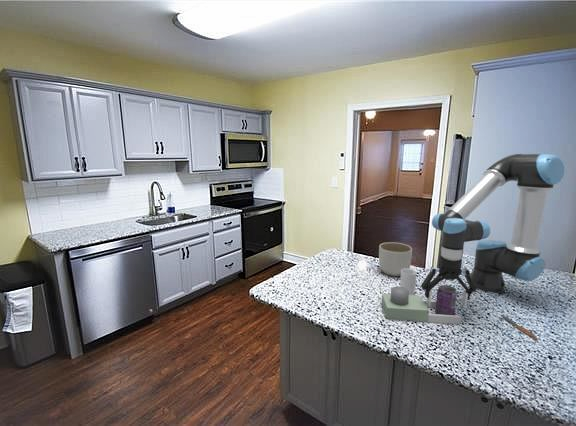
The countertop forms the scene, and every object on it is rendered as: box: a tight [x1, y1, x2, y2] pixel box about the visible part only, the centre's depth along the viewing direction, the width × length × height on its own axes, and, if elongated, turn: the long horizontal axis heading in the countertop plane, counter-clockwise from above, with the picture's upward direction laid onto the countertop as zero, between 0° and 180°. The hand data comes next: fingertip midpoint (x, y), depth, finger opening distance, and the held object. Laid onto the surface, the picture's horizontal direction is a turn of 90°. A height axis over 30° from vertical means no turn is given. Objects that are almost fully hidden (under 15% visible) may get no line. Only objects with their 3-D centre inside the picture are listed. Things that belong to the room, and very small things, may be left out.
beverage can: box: [434, 284, 458, 315], centre depth 118 cm, size 7×7×12 cm
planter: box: [378, 241, 413, 277], centre depth 159 cm, size 17×17×15 cm
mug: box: [399, 268, 418, 295], centre depth 136 cm, size 10×7×12 cm, turn 172°
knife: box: [501, 314, 538, 342], centre depth 110 cm, size 17×1×3 cm
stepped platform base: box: [381, 285, 462, 325], centre depth 120 cm, size 28×12×10 cm, turn 81°
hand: (445, 305), depth 118 cm, fingers open, 13 cm apart
